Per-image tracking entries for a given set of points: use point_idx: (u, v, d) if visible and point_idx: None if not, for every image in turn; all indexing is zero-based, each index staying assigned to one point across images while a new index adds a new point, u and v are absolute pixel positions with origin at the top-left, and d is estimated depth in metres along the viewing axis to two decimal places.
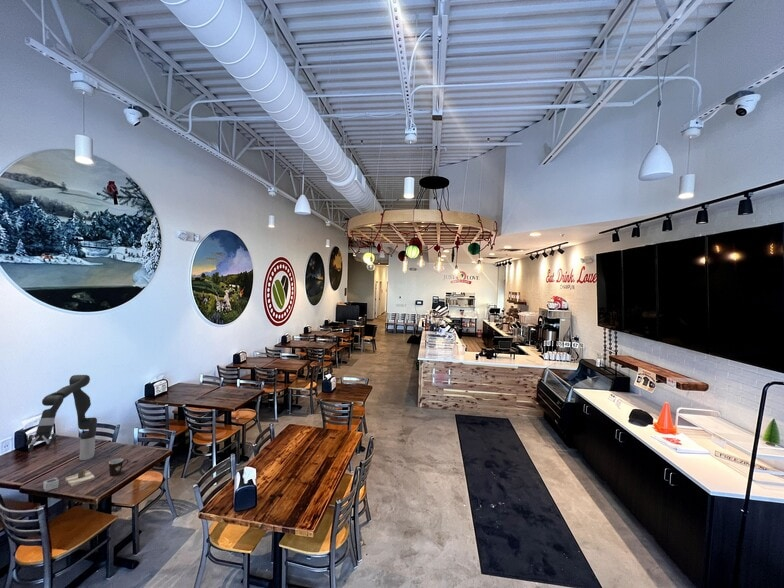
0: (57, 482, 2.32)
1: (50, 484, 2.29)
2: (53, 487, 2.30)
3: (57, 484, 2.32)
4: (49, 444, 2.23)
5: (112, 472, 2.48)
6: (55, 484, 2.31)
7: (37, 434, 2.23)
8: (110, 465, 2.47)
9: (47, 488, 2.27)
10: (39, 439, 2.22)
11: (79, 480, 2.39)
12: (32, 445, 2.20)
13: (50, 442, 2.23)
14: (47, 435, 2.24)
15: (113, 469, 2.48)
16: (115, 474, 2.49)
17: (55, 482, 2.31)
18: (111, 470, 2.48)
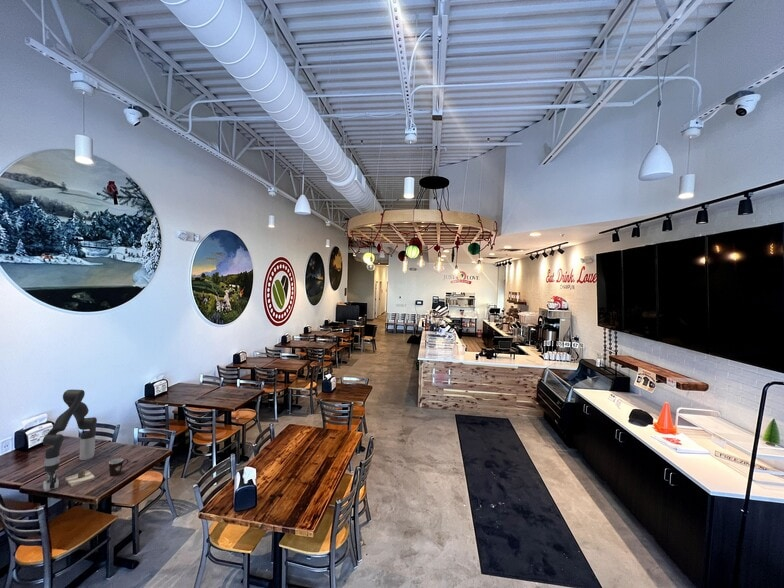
0: (57, 482, 2.32)
1: None
2: None
3: (57, 484, 2.32)
4: (51, 484, 2.28)
5: (112, 472, 2.48)
6: (55, 484, 2.31)
7: None
8: (110, 465, 2.47)
9: (47, 488, 2.27)
10: None
11: (79, 480, 2.39)
12: (49, 480, 2.33)
13: None
14: (50, 475, 2.29)
15: (113, 469, 2.48)
16: (115, 474, 2.49)
17: (55, 482, 2.31)
18: (111, 470, 2.48)
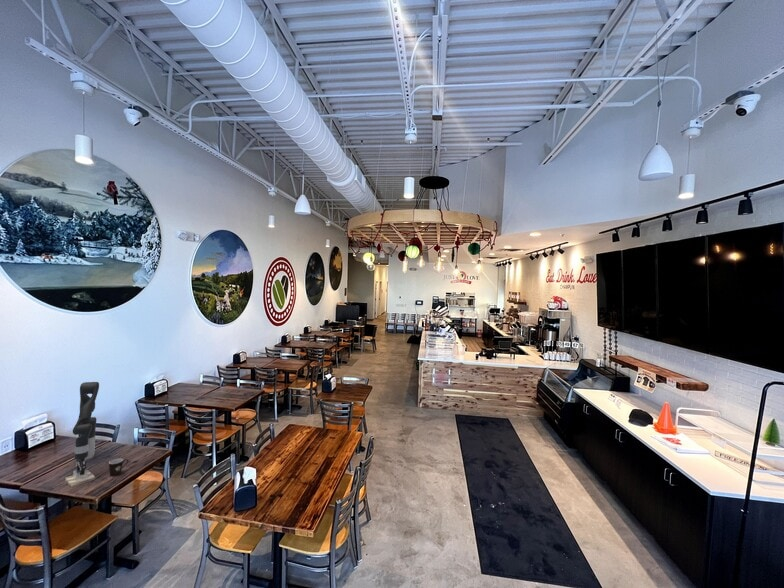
0: (86, 472, 2.43)
1: None
2: (83, 476, 2.42)
3: (86, 474, 2.43)
4: (82, 470, 2.39)
5: (112, 472, 2.48)
6: (84, 474, 2.42)
7: None
8: (110, 465, 2.47)
9: (77, 477, 2.39)
10: None
11: (79, 480, 2.39)
12: (78, 466, 2.45)
13: None
14: (80, 462, 2.40)
15: (113, 469, 2.48)
16: (115, 474, 2.49)
17: None
18: (111, 470, 2.48)
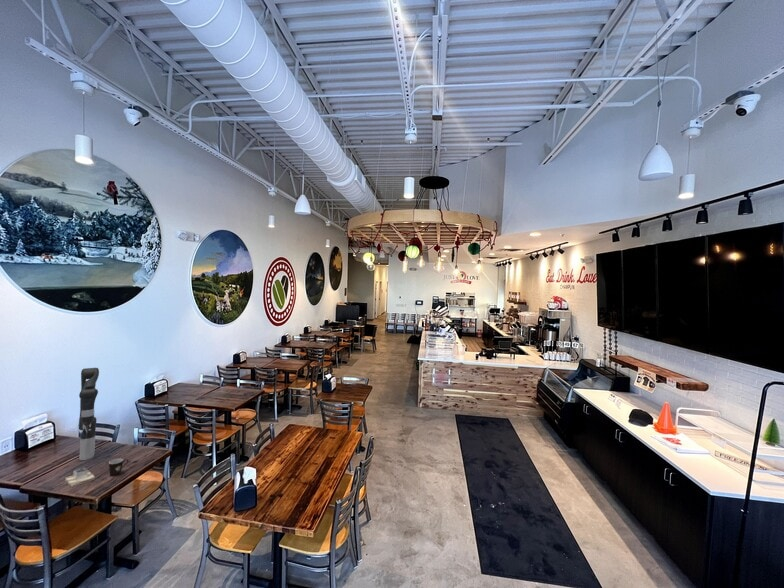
0: (86, 472, 2.43)
1: (80, 474, 2.40)
2: (83, 476, 2.42)
3: (86, 474, 2.43)
4: (88, 433, 2.50)
5: (112, 472, 2.48)
6: (84, 474, 2.42)
7: None
8: (110, 465, 2.47)
9: (77, 477, 2.39)
10: None
11: (79, 480, 2.39)
12: (84, 430, 2.55)
13: None
14: (86, 425, 2.50)
15: (113, 469, 2.48)
16: (115, 474, 2.49)
17: (84, 472, 2.42)
18: (111, 470, 2.48)
